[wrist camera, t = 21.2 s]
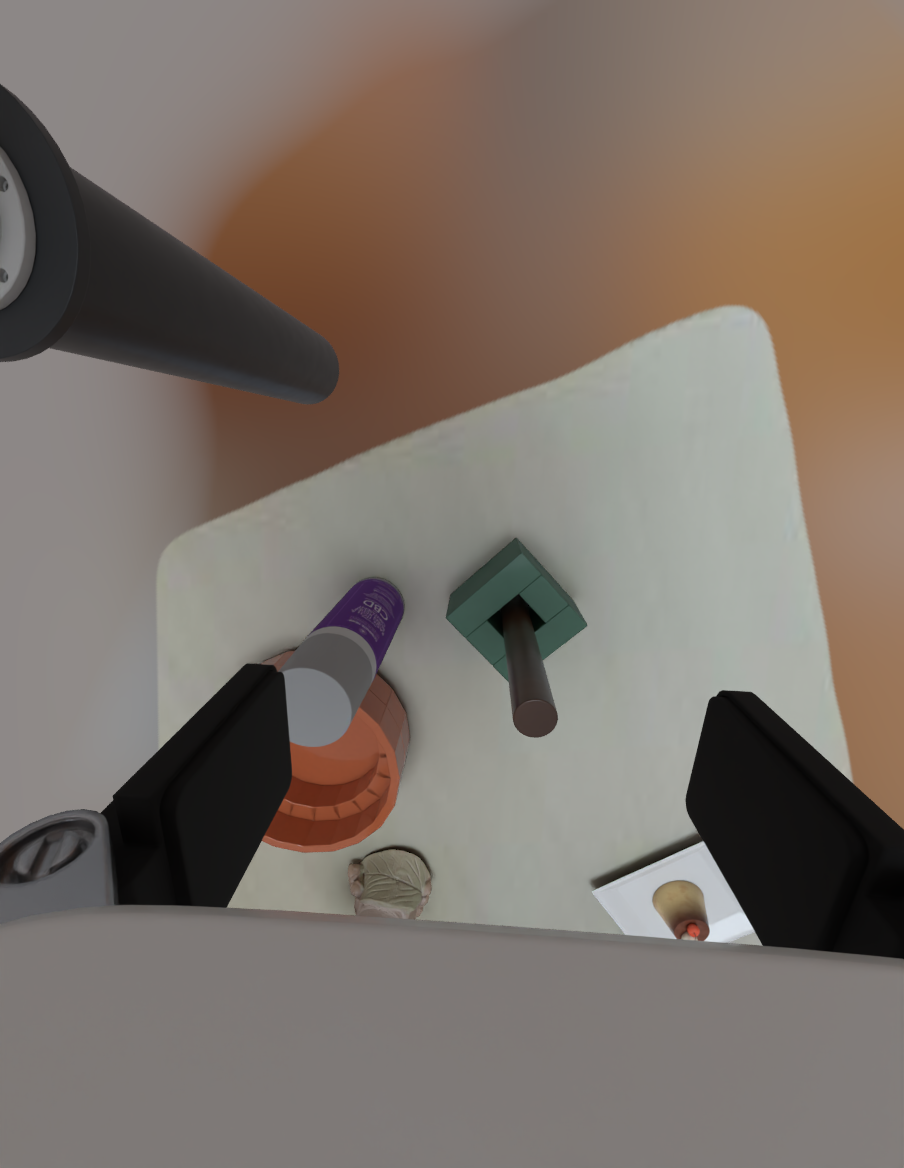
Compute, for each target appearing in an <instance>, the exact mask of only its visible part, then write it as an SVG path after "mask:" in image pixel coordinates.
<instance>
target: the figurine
mask: <svg viewBox="0 0 904 1168" xmlns="http://www.w3.org/2000/svg"><path fill="white" fill-rule="evenodd" d="M348 877H349V882H350V887H351V889H350V890H351V893H352V895H353V896H355V905H354V908H355V913H356V916H369V917H384V918H399V919H414V920H415V919H416V917H418V916H420V914H421V912H422V911H423V906H425V904H426V903H427V902H428V899H429V895H430V893H431V877H430V873H429V872H428V870H427V868H426V866H425V864H424V863H423V862H422V861H421V859H420V858H419V857H418V856H416V855H414V854H412V853H409V852H405V851H399V850H394V849H390V850H387V851H386V850H385V851H383V852H378V853H374V854H371V855H369V856H367V857H366V858H365V859H364V860H363V861H362V862H361V863H360V864H350V865H349V867H348Z"/></svg>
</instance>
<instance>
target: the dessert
mask: <svg viewBox="0 0 904 1168" xmlns="http://www.w3.org/2000/svg"><path fill="white" fill-rule="evenodd" d="M592 893H593V895H594V896H595V897H596V898H597V900H598V901H599V902H600V903H601V905H602V906H603V907H604V908H605V910H606V911H607V912H608V913H609V915H610V916H611V917H612V918H613V920H614V921H615V922H616V923H617V925H618V926H619V927H620V929H621V930H622V931H623V932H624V934H625V935H633V936H646V937H658V938H671V939H683V940H696V941H708V942H721V943H728V942H731V941H733V940H736V939H738V938H741V937H743V936H746V935H748V934H751V933H753V932H755V931H754V929H753V927H752V926H751V924H750V922H749V920H748V919H747V917H746V915H745V913H744V912H743V910H742V908H741V906H740V904H739V903H738V901H737V899H736V897H735V896H734V894H733V892H732V890H731V889H730V887H729V885H728V883H727V882H726V880H725V878H724V876H723V875H722V873H721V871H720V869H719V868H718V866H717V864H716V862H715V861H714V859H713V857H712V855H711V854H710V852H709V850H708V848H707V847H706V845H705V843H704V841H702V842H700V843H697V844H695V845H693V846H691V847H689V848H686V849H684V850H682V851H680V852H677V853H675V854H673V855H671V856H669V857H666V858H664V859H662V860H660V861H657V862H655V863H653V864H651V865H649V866H646V867H644V868H642V869H640V870H637V871H635V872H633V873H631V874H629V875H626V876H624V877H622V878H620V879H617V880H615V881H613V882H611V883H608V884H606V885H604V886H602V887H600V888H597V889H595V890H593V891H592Z"/></svg>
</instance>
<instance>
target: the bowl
mask: <svg viewBox="0 0 904 1168" xmlns="http://www.w3.org/2000/svg"><path fill="white" fill-rule="evenodd" d="M294 652H295V651H287V652H285V653H282V654H280V655H278V656H275V657H273V658H271V659H268V660H266V661H264V662H262V663H261V664H265V665H274V666H275V667H276V669H277V672H278V671H279V670H280V669H281V668H282V666H283V665H284V664H285V663H286V662H287V660H288V659H289V658H290V657H291V656H292V654H293V653H294ZM409 741H410V733H409V728H408V722H407V716H406V713H405V710H404V709H403V707H402V705H401V703H400V701H399V700H398V698H397V696H396V694H395V692H394V691H393V689H392V688H391V687H390V686H389V685H388V684H387V683H386V682H385V681H384V680H383V679H382V678H381V677H380V676H379V675H378V674H376V676H375V678H374V680H373V682H372V683H371V685H370V687H369V689H368V691H367V693H366V695H365V697H364V699H363V701H362V702H361V704H360V706H359V708H358V710H357V712H356V714H355V716H354V718H353V720H352V722H351V724H350V726H349V727H348V729H347V731H346V732H345V734H344V735H343V736H342V737H341V738H339V739H338V740H337V741H335V742H333V743H331V744H328V745H325V746H320V747H306V746H301V745H298V744H295V743H292V742H290V751H291V763H292V780H291V784H290V787H289V790H288V792H287V794H286V796H285V797H284V799H283V801H282V803H281V805H280V807H279V809H278V811H277V813H276V815H275V816H274V818H273V820H272V822H271V824H270V826H269V828H268V830H267V832H266V833H265V835H264V837H263V839H262V841H263V842H265V843H268V844H270V845H272V846H275V847H279V848H283V849H288V850H293V851H298V852H304V853H308V852H330V851H336V850H339V849H342V848H345V847H348V846H351V845H354V844H357V843H359V842H361V841H362V840H364V839H365V838H366V837H368V836H369V835H370V834H372V833H373V832H374V831H376V830H377V829H378V828H380V827H381V826H382V824H383V823H384V821H385V820H386V818H387V817H388V815H389V814H390V812H391V811H392V809H393V808H394V806H395V803H396V799H397V795H398V791H399V787H400V782H401V778H402V774H403V770H404V766H405V762H406V757H407V752H408V747H409Z"/></svg>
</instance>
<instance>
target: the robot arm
mask: <svg viewBox="0 0 904 1168" xmlns="http://www.w3.org/2000/svg"><path fill="white" fill-rule="evenodd" d="M35 253H36V231H35V224H34V217H33V212H32V208H31V205H30V201H29V198H28V194H27V192H26V189H25V187H24V185H23V183H22V180H21V178H20V176H19V174H18V172H17V170H16V168H15V167H14V165H13V164H12V162H11V160H10V159H9V157H8V156H7V154H6V153H5V151H4V150H3V149H2V148H1V147H0V310H1V309H3V308H6V307H7V306H8V305H9V304H10V303H12V302H13V301H14V300H15V299H16V298H17V297H18V296H19V294H20V293H21V292H22V290H23V289H24V287H25V286H26V284H27V281H28V279H29V277H30V274H31V272H32V268H33V263H34V258H35ZM291 780H292V763H291V751H290V738H289V726H288V714H287V702H286V689H285V678H284V674H283V673H282V672H277V669H276V667H275V666H274V665H265V664H246V665H244V666H243V667H242V668H241V669H240V670H239V671H238V672H237V673H236V674H235V675H234V676H233V677H232V678H231V679H230V680H229V681H228V682H227V683H226V684H225V685H224V686H223V687H222V688H221V689H220V690H219V691H218V692H217V693H216V694H215V695H214V696H213V697H212V698H211V699H210V700H209V701H208V702H207V703H206V704H205V705H204V706H203V707H202V708H201V709H200V710H199V711H198V712H197V713H196V714H195V715H194V716H193V717H192V718H191V719H190V720H189V721H188V722H187V723H186V724H185V725H184V726H183V727H182V728H181V729H180V730H179V731H178V732H177V733H176V734H175V735H174V736H173V737H172V738H171V739H170V740H169V741H168V742H167V743H166V744H165V745H164V746H163V747H162V748H161V749H160V750H159V751H158V752H157V753H156V754H155V755H154V756H153V757H152V758H150V759H149V760H148V761H147V762H146V764H145V765H143V766H142V767H141V768H140V769H139V770H138V771H137V772H136V773H135V774H134V775H133V776H132V777H131V778H130V779H129V780H128V781H127V782H126V783H125V784H124V785H123V786H122V787H121V788H120V789H119V790H118V791H117V792H116V793H115V794H114V795H113V801H112V802H111V803H110V804H109V805H108V806H107V807H106V808H105V809H104V810H103V811H102V812H101V813H98V812H97V811H92V810H85V809H81V810H72V811H65V812H61V813H57V814H54V815H50V816H47V817H45V818H42V819H40V820H38V821H36V822H33V823H31V824H29V825H27V826H25V827H24V828H22V829H20V830H18V831H17V832H15V833H13V834H12V835H10V836H9V837H8V838H6V839H5V840H4V841H2V842H1V843H0V1168H904V830H903V829H902V828H901V827H900V826H899V825H898V824H897V823H896V822H895V821H894V820H892V819H891V818H890V817H889V816H888V815H887V814H886V813H885V812H884V811H883V810H881V809H880V808H879V807H878V806H877V805H876V804H875V803H874V802H873V801H872V800H871V799H869V798H868V797H867V796H866V795H865V794H864V793H863V792H862V791H861V790H860V789H858V788H857V787H856V786H855V785H854V784H853V783H852V782H851V781H850V780H849V779H847V778H846V777H845V776H844V775H843V774H842V773H841V772H840V771H839V770H838V769H836V768H835V767H834V766H833V765H832V764H831V763H830V762H829V761H828V760H827V759H825V758H824V757H823V756H822V755H821V754H820V753H819V752H818V751H817V750H816V749H814V748H813V747H812V746H811V745H810V744H809V743H808V742H807V741H806V740H805V739H803V738H802V737H801V736H800V735H799V734H798V733H797V732H796V731H795V730H794V729H793V728H791V727H790V726H789V725H788V724H787V723H786V722H785V721H784V720H783V719H782V718H780V717H779V716H778V715H777V714H776V713H775V712H774V711H773V710H772V709H771V708H769V707H768V706H767V705H766V704H765V703H764V702H763V701H762V700H761V699H760V698H758V697H757V696H756V695H755V694H753V693H752V692H742V691H725V690H722V691H720V692H719V693H718V695H717V696H716V697H712V698H711V699H710V700H709V703H708V707H707V711H706V715H705V719H704V723H703V727H702V732H701V736H700V740H699V744H698V748H697V753H696V757H695V761H694V765H693V769H692V774H691V778H690V782H689V786H688V790H687V794H686V808H687V812H688V815H689V817H690V819H691V820H692V822H693V824H694V826H695V827H696V829H697V831H698V833H699V834H700V836H701V838H702V840H703V841H704V843H705V845H706V847H707V848H708V850H709V852H710V854H711V855H712V857H713V859H714V861H715V862H716V864H717V866H718V868H719V869H720V871H721V873H722V875H723V876H724V878H725V880H726V882H727V883H728V885H729V887H730V889H731V890H732V892H733V894H734V896H735V897H736V899H737V901H738V903H739V904H740V906H741V908H742V910H743V912H744V913H745V915H746V917H747V919H748V920H749V922H750V924H751V926H752V927H753V929H754V931H755V933H756V934H757V936H758V938H759V940H760V941H761V943H762V945H763V946H758V945H746V944H733V943H721V942H708V941H696V940H683V939H671V938H658V937H646V936H633V935H620V934H606V933H593V932H580V931H566V930H553V929H539V928H526V927H512V926H498V925H484V924H471V923H457V922H443V921H429V920H414V919H399V918H384V917H369V916H354V915H339V914H324V913H310V912H295V911H280V910H260V909H240V908H226V907H227V906H228V904H229V902H230V900H231V898H232V896H233V894H234V892H235V890H236V889H237V887H238V885H239V883H240V881H241V879H242V877H243V875H244V873H245V871H246V870H247V868H248V866H249V864H250V862H251V860H252V858H253V856H254V854H255V852H256V851H257V849H258V847H259V845H260V843H261V841H262V839H263V837H264V835H265V833H266V832H267V830H268V828H269V826H270V824H271V822H272V820H273V818H274V816H275V815H276V813H277V811H278V809H279V807H280V805H281V803H282V801H283V799H284V797H285V796H286V794H287V792H288V790H289V787H290V784H291Z"/></svg>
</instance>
